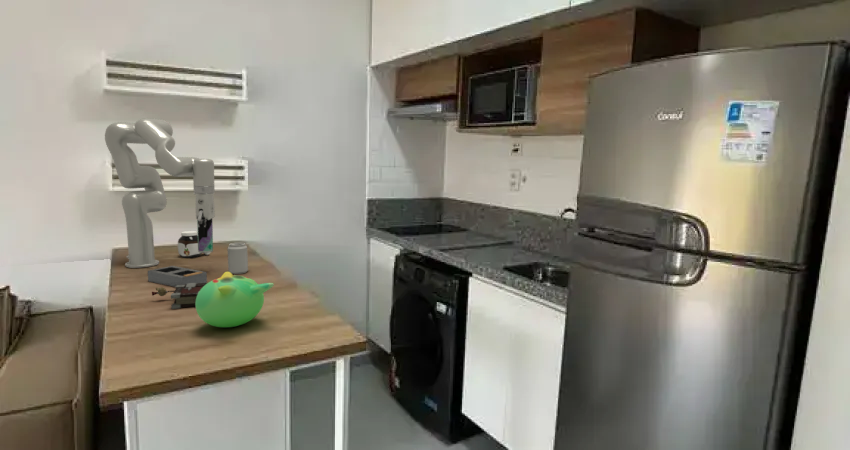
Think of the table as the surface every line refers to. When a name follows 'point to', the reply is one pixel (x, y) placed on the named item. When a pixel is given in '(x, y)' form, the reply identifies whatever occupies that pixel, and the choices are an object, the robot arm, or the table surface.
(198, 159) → the robot arm
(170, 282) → the grey rectangular grid frame
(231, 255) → the can
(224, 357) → the table surface
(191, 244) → the spread jar
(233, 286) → the toy bird
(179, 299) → the dark layered knobbed device
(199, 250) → the spray can
